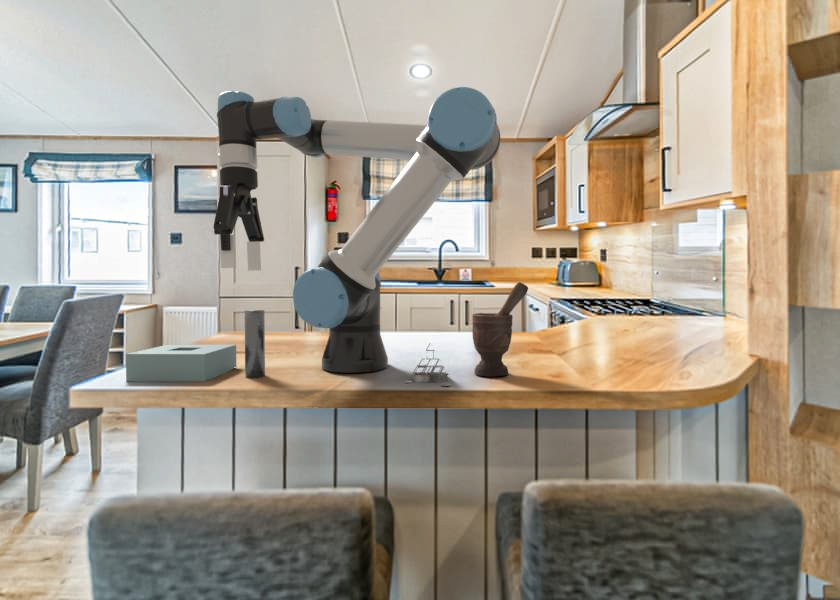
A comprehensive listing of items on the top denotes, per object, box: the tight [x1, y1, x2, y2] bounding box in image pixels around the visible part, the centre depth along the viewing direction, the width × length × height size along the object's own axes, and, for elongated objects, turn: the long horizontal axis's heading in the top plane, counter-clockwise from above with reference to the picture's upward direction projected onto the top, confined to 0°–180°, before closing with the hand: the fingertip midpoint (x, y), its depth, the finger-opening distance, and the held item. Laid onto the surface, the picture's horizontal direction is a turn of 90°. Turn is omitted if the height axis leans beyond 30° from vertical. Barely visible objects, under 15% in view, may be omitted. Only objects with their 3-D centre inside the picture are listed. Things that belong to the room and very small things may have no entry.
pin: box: [244, 309, 266, 379], centre depth 104 cm, size 4×4×14 cm
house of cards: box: [405, 342, 451, 387], centre depth 100 cm, size 9×9×8 cm
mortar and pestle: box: [471, 281, 529, 378], centre depth 105 cm, size 12×9×20 cm
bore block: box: [125, 344, 237, 382], centre depth 107 cm, size 16×16×6 cm
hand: (242, 269), depth 105 cm, fingers open, 13 cm apart
